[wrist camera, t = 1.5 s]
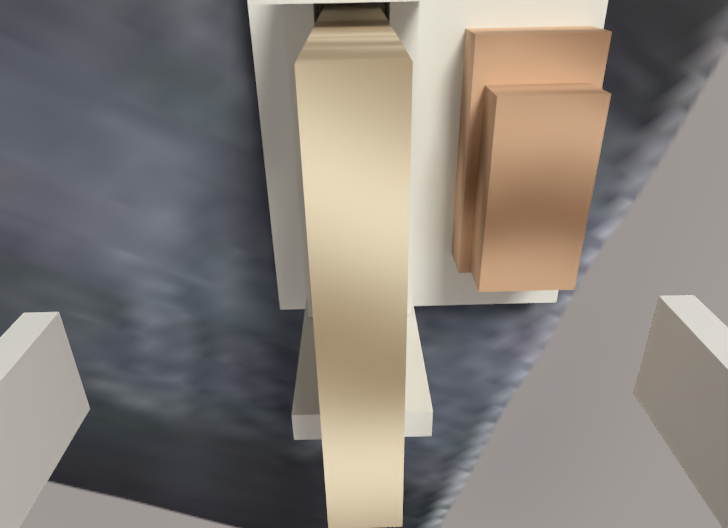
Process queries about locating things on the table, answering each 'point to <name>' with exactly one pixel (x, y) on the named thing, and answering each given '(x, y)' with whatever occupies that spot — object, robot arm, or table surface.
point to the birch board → (358, 252)
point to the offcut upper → (535, 184)
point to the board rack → (427, 168)
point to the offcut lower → (504, 67)
